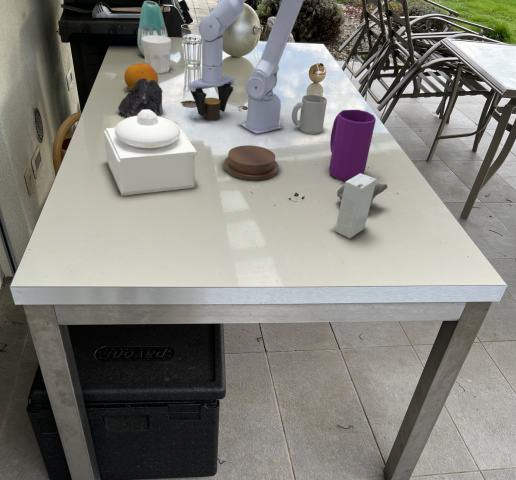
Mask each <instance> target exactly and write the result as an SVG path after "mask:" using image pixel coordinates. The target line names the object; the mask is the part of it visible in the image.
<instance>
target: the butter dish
mask: <svg viewBox="0 0 516 480" xmlns="http://www.w3.org/2000/svg"><path fill="white" fill-rule="evenodd" d="M103 137H104V145H105V153H106V162H107V164H108V168H109V170H110V172H111V174H112V176H113V178H114V181H115V183H116V186H117V188H118V190H119V193H120V194H121V196H131V195H140V194H148V193H149V194H150V193H158V192H168V191H174V190H175V191H176V190H185V189H193V188H194V189H195V188H196V173H195V172H196V170H195V169H196V167H195V162H196V161H195V160H196V159H195V158H196V156H197V155H198V151H197V149H196V148H195V146H194V145H193V144H192V142H191V141H190V140H189V138H188V137H187V135H186V134H185V133H184V131H183V130H182V129H181V127H180V126H179V124H178V123H177V122H175V121H173V120H170V119H169V118H166V117H164V116H157V115H156V114H155V113H154V112H153V111H151V110H149V109H147V110H142V111H141V112H140V113H138V115H137V116H133V117H129V118H128V117H127V118H126V117H125V118H124V119H122V120H120V121H119V122H118V123H117V124H116V125H115V127H106V128H105V130H103Z"/></svg>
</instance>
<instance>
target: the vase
mask: <svg viewBox="0 0 516 480" xmlns="http://www.w3.org/2000/svg"><path fill="white" fill-rule="evenodd" d="M140 9H141V10H140V17H139V25H138V29H137V37H136V38H137V39H136V40H137V47H138V48H137V49H138V51H139V53H140V54H141V55H142V56H143V57H144V50H143V44H142V37H144V36H150V35H158V36H165V37H168V38H169V35H168V31H167V27H166V23H165V21H164V15H163V12H162V9H161V7H160V5H159V4H158V3H157V2H156V1H152V0H144V1H143V3H142V6H141V8H140Z"/></svg>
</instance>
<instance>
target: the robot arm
mask: <svg viewBox="0 0 516 480" xmlns="http://www.w3.org/2000/svg"><path fill="white" fill-rule="evenodd" d="M246 1H247V0H220V1H218V3H217V4H216V5H215V6H214V7H211V8H210V9H209V11H208V12H209V15H205V16H202V17H201V19H200V21H199V24H198V32H199V36H200V38H201V41H202V42H201V78H199V79H196V80H194V81H190V82H188V90H189V92H190V94H191V95H192V98H193V100H194V103H195V106H196V109H197V110H196V111H197V114H198V115H199V116H201V117H203V116H204V104H205V98H207V93H206V92H204V90H205V89H211V88H217V95H218V99H219V100H220V112H222V113H225V111H226V108H227V104H228V101H229V99H230V97H231V95H232V93H233V92H234V87H233V86H234V84H235V78H234V77H233V76H231V75H227V76H223V49H224V45H223V43H224V42H223V41H224V36H225V34H226V33H227V29H229V27H230V26H231V25H232V24H233V23H234V22H235V21H236V20H237V19H238V17H240V15H241V14H243V12H244V7H245V6H244V5H245V2H246ZM303 3H304V0H281V3H280V6H279V8H278V11H277V13H276V16H275V19H274V21H273V24H272V27H271V29H270V33H269V35H268V38H267V41H266V43H265V46H264V49H263V52H262V54H261V57H260V59H259V61H258V63H257V64H256V66H255V68H254V70H253V72H252V74H251V75H249V77H248V78H247V80H246V82H245V90H246V92H247V95H248V96H247V111H246V121H244V122H241V123H239V124H240V126H241V127H243V128H245V129H247V130H248V131H250V132H251V133H253V134H255V135H258V134H259V135H260V134H262V133H263V134H264V133H267V132H272V131H275V130H276V131H277V130H280V129H281V126H280V121H281V119H280V118H281V111H282V110H281V109H282V103H281V100H280V98H279V96H278V95H277V94H276V93H274V92H273V90H274V89H275V87H276V86H277V84H278V73H279V70H280V67H279V65H280V62H281V59H282V56H283V54H284V51H285V48H286V46H287V43H288V41H289V38H290V36H291V34H292V31H293V28H294V25H295V23H296V21H297V18H298V16H299V13H300V10H301V8H302V6H303Z"/></svg>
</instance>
